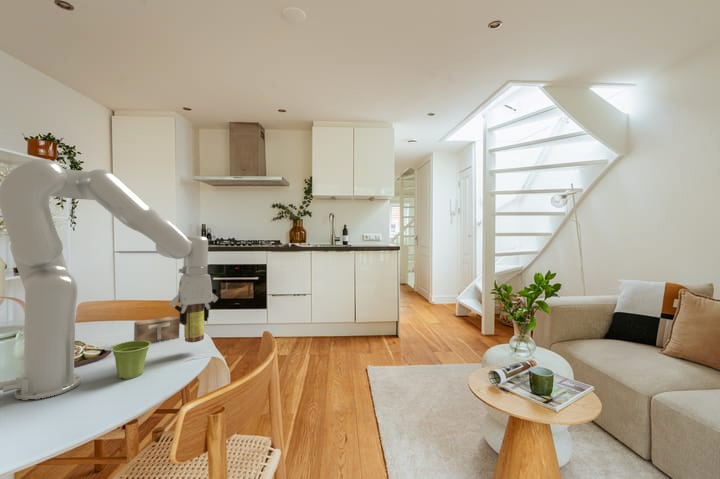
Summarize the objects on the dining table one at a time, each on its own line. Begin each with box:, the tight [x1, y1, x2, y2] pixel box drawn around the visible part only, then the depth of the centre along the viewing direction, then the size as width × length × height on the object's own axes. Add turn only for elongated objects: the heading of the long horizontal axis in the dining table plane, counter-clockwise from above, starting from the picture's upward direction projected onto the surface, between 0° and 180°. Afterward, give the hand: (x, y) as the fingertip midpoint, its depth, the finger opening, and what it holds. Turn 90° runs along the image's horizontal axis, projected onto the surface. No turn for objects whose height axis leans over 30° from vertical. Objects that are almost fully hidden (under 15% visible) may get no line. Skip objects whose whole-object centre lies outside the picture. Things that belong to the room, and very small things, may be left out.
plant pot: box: [110, 340, 152, 380], centre depth 92 cm, size 9×9×9 cm
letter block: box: [133, 315, 181, 344], centre depth 121 cm, size 14×5×8 cm, turn 135°
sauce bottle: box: [183, 304, 205, 343], centre depth 110 cm, size 6×6×20 cm
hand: (194, 321), depth 110 cm, fingers closed on sauce bottle, 6 cm apart
